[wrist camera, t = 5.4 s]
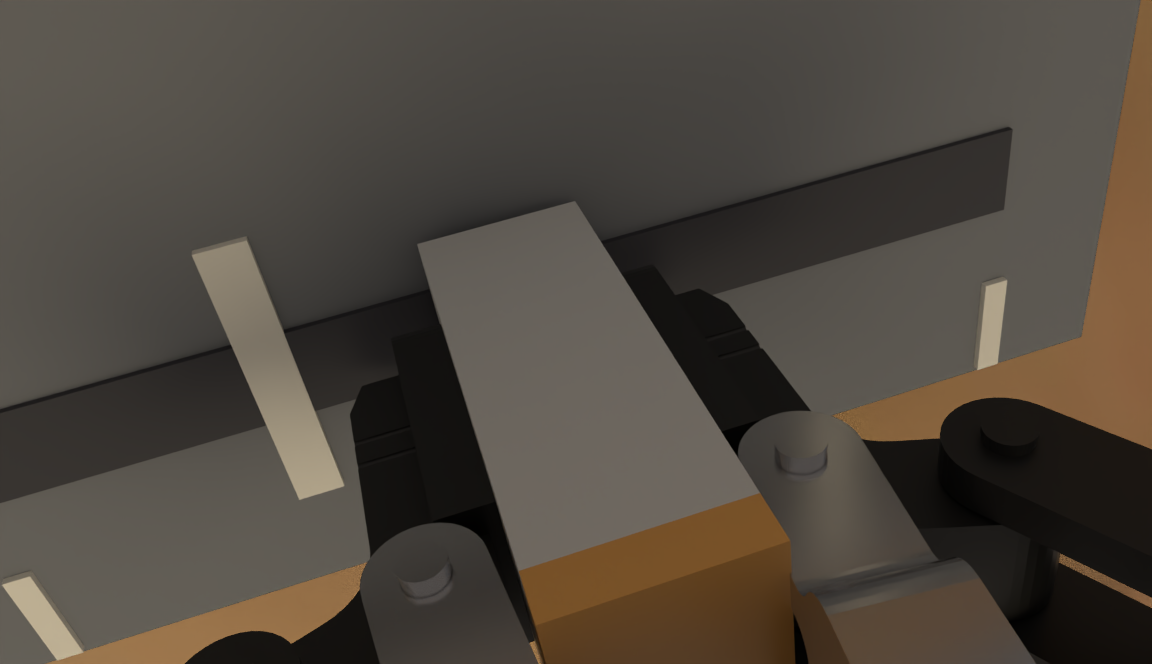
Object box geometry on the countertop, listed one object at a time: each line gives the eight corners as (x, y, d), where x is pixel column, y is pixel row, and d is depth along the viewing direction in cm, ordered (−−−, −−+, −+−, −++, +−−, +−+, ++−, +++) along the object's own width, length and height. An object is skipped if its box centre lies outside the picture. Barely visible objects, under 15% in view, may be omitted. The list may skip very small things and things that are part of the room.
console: (1165, -971, 11) (1343, -1093, 9) (1013, 283, 20) (1085, 340, 18) (-1045, -715, 8) (-1401, -820, 6) (-30, 599, 17) (-60, 702, 15)
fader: (575, 200, 14) (790, 540, 8) (606, 383, 15) (799, 756, 10) (417, 243, 13) (535, 624, 8) (468, 424, 15) (592, 832, 10)
